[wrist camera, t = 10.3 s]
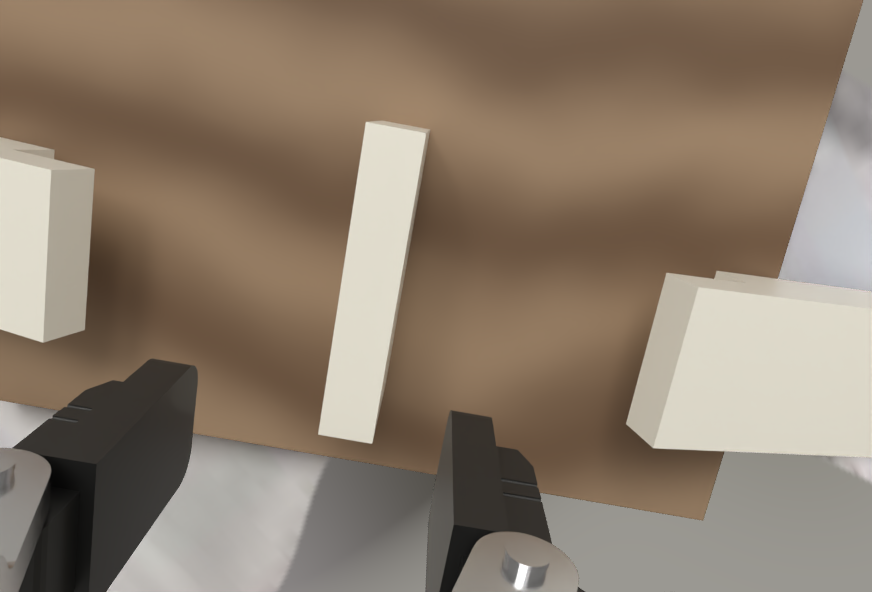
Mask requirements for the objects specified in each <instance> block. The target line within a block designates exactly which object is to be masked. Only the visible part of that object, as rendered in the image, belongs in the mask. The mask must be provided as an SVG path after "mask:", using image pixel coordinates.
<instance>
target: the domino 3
mask: <svg viewBox="0 0 872 592" xmlns="http://www.w3.org/2000/svg"><path fill="white" fill-rule="evenodd" d="M626 425H628V426H629V427H630V428H631V429H632V430H633V431H634V432H636V433H637V434H638V435H639V436H640V437H641V438H642V439H643V440H645V441H646V442H647V443H648V444H649V445H650V446H651V447H652V448H658V449H682V450H705V451H728V452H751V453H752V452H753V453H775V454H797V455H821V456H844V457H867V458H872V299H865V298H857V297H849V296H842V295H834V294H826V293H818V292H811V291H803V290H795V289H788V288H780V287H772V286H765V285H757V284H749V283H742V282H734V281H726V280H719V279H711V278H703V277H696V276H688V275H680V274H673V273H666V276H665V280H664V284H663V288H662V291H661V295H660V299H659V303H658V306H657V310H656V314H655V317H654V321H653V325H652V329H651V332H650V336H649V340H648V344H647V347H646V351H645V355H644V359H643V362H642V366H641V370H640V373H639V377H638V381H637V385H636V388H635V392H634V396H633V400H632V403H631V407H630V411H629V415H628V418H627V422H626Z"/></svg>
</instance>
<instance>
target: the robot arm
mask: <svg viewBox="0 0 872 592" xmlns="http://www.w3.org/2000/svg"><path fill="white" fill-rule="evenodd" d="M197 385H198V371H197V368H196V366H194V365H188V364H182V363H176V362H170V361H165V360H159V359H153V358H152V359H149V360H148V361H147V362H146V363H144V364H143V365H142V366H141V367H140V368H139V369H137V370H136V371H135V372H134V373H133V374H132V375H130V376H129V377H128V378H127V379H126V380H125V381H124V382H121V381H115V380H112V381H109V382H106V383H103V384H101V385H98V386H95V387H92V388H90V389H87V390H85V391H83V392H82V393H81V394H80V395H78V396H77V397H76V398H75V399H73V400H72V401H71V402H70V403H68V405H67V407H63V408H62V409H61V410H60V411H58V412H57V413H56V414H55V415H53V418H52V419H48V420H47V421H46V422H45V423H43V424H42V425H41V426H39V427H38V428H37V429H36V430H34V431H33V432H32V433H31V434H29V435H28V436H27V437H26V438H24V439H23V440H22V441H21V442H19V443H18V444H17V445H16V446H14V447H13V448H0V592H106V591H107V590H108V588H109V587H110V585H111V584H112V582H113V581H114V579H115V578H116V577H117V575H118V574H119V572H120V571H121V569H122V568H123V567H124V565H125V564H126V562H127V561H128V559H129V558H130V556H131V555H132V554H133V552H134V551H135V549H136V548H137V546H138V545H139V544H140V542H141V541H142V539H143V538H144V536H145V535H146V533H147V532H148V531H149V529H150V528H151V526H152V525H153V523H154V522H155V520H156V519H157V518H158V516H159V515H160V513H161V512H162V510H163V509H164V508H165V506H166V505H167V503H168V502H169V500H170V499H171V497H172V496H173V495H174V493H175V492H176V490H177V489H178V487H179V486H180V484H181V482H182V480H183V478H184V475H185V473H186V470H187V467H188V463H189V459H190V453H191V446H192V436H193V426H194V416H195V406H196V395H197ZM426 568H427V569H426V592H584V591H583V590H581V589H580V588H579V587H578V584H579V575H578V571H577V569H576V567H575V565H574V563H573V562H572V561H571V560H570V558H569V557H568V556H567V555H566V554H565V553H563V552H562V551H561V550H560V549H559V548H557V547H556V546H554V545H552V542H551V538H550V534H549V529H548V525H547V521H546V517H545V513H544V509H543V505H542V502H541V496H540V492H539V488H538V487H537V480H536V476H535V471H534V467H533V466H532V465H531V464H530V462H529V461H528V460H527V459H526V458H525V457H524V456H523V455H522V454H521V453H520V452H519V450H517V449H511V448H505V447H499V446H496V441H495V434H494V428H493V421H492V417H488V416H482V415H476V414H470V413H464V412H458V411H453V410H451V411H450V413H449V416H448V420H447V425H446V430H445V435H444V440H443V445H442V449H441V454H440V459H439V464H438V469H437V474H436V479H435V484H434V489H433V495H432V501H431V507H430V515H429V523H428V544H427V567H426Z"/></svg>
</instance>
